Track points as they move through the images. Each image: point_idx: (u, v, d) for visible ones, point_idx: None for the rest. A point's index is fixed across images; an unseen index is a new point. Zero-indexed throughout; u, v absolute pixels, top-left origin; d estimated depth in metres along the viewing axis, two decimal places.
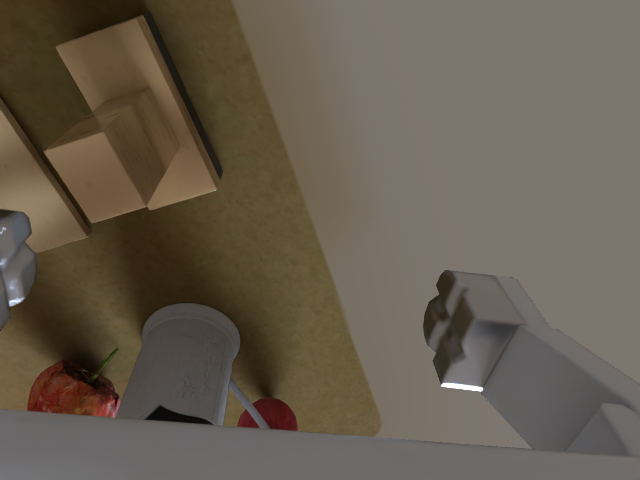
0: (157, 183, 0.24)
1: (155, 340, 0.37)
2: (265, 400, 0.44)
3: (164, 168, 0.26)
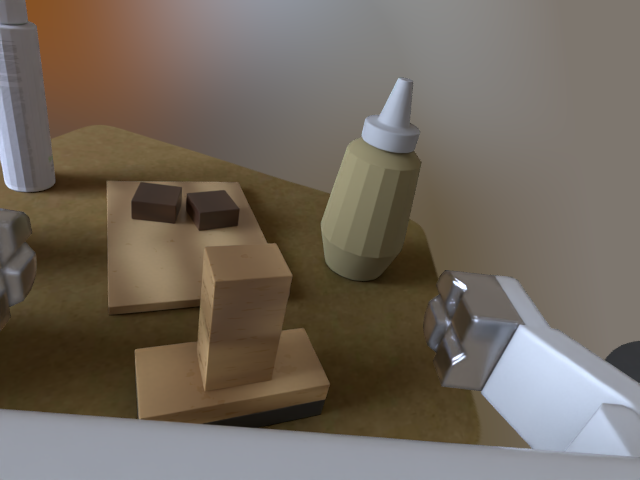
0: (214, 318, 0.23)
1: None
2: None
3: (213, 343, 0.24)
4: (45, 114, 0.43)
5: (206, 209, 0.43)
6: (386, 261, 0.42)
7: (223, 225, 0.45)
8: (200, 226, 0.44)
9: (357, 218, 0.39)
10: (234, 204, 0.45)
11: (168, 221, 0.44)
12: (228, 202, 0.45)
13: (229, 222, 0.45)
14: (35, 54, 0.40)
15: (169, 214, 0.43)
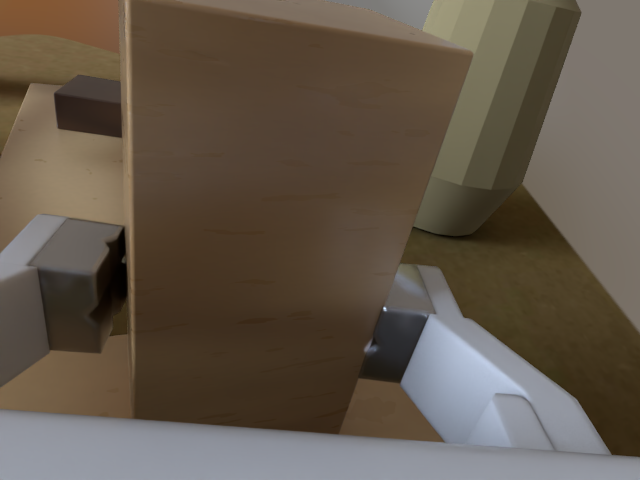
0: (143, 223, 0.05)
1: None
2: None
3: (150, 333, 0.06)
4: None
5: None
6: (500, 199, 0.24)
7: None
8: None
9: (461, 110, 0.21)
10: None
11: (121, 134, 0.26)
12: None
13: None
14: None
15: None
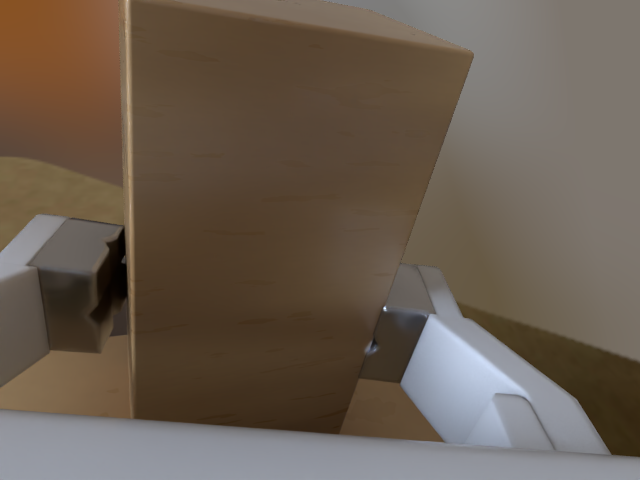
0: (143, 224, 0.05)
1: None
2: None
3: (150, 334, 0.06)
4: None
5: None
6: None
7: None
8: None
9: None
10: None
11: None
12: None
13: None
14: None
15: None
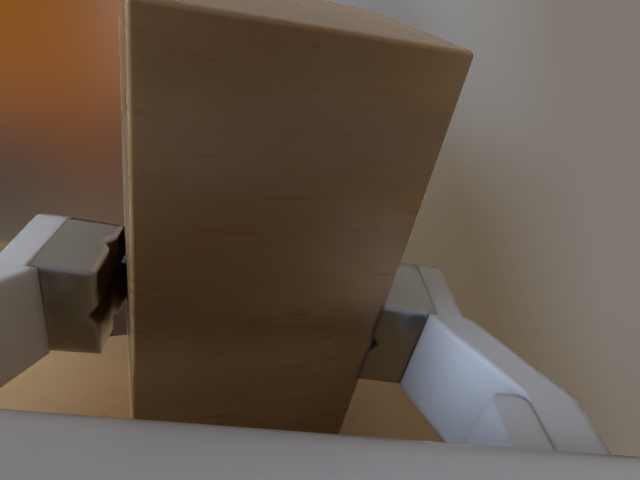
0: (143, 224, 0.05)
1: None
2: None
3: (150, 333, 0.06)
4: None
5: None
6: None
7: None
8: None
9: None
10: None
11: None
12: None
13: None
14: None
15: None
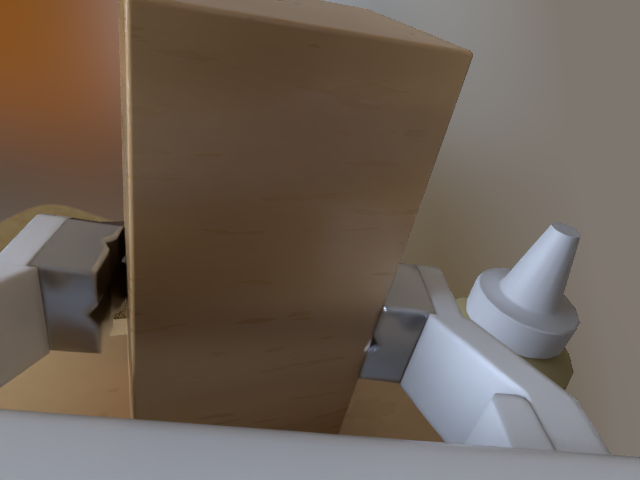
0: (142, 223, 0.05)
1: None
2: None
3: (150, 333, 0.06)
4: None
5: None
6: None
7: None
8: None
9: None
10: None
11: None
12: None
13: None
14: None
15: None
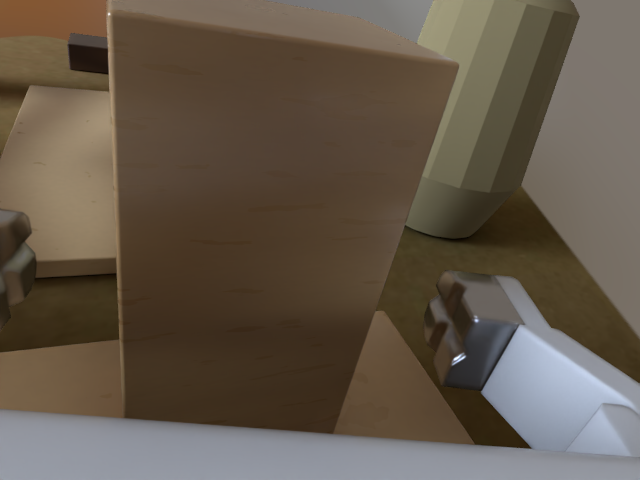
0: (129, 234, 0.05)
1: None
2: None
3: (139, 342, 0.06)
4: None
5: None
6: (498, 201, 0.24)
7: None
8: None
9: (459, 113, 0.21)
10: None
11: None
12: None
13: None
14: None
15: None
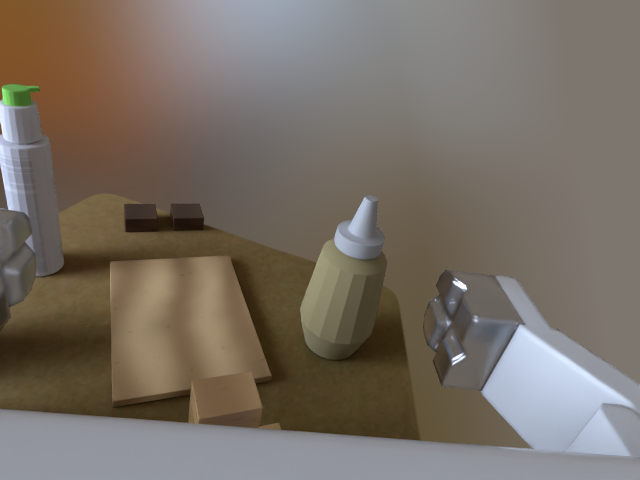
0: None
1: None
2: None
3: None
4: (56, 210, 0.49)
5: (179, 216, 0.63)
6: (357, 345, 0.47)
7: (191, 228, 0.64)
8: (174, 227, 0.63)
9: (330, 312, 0.44)
10: (201, 214, 0.64)
11: (152, 230, 0.62)
12: (197, 212, 0.64)
13: (196, 226, 0.64)
14: (48, 164, 0.45)
15: (153, 225, 0.61)
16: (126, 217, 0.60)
